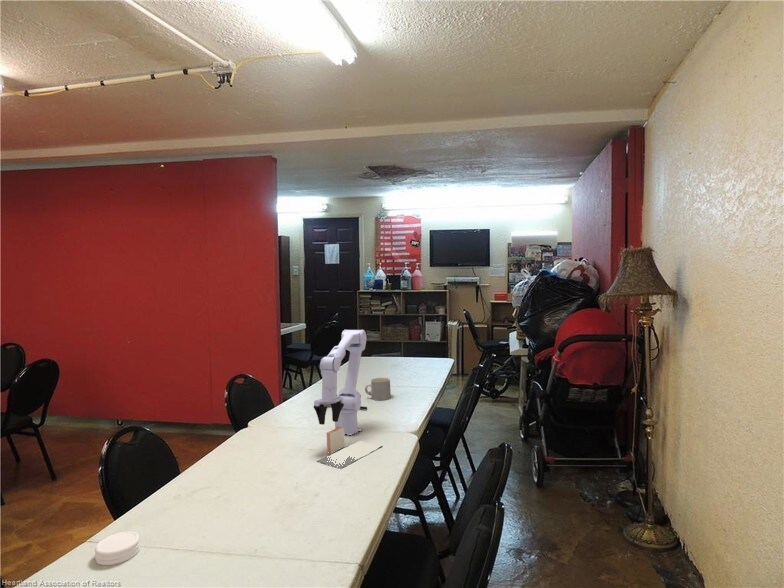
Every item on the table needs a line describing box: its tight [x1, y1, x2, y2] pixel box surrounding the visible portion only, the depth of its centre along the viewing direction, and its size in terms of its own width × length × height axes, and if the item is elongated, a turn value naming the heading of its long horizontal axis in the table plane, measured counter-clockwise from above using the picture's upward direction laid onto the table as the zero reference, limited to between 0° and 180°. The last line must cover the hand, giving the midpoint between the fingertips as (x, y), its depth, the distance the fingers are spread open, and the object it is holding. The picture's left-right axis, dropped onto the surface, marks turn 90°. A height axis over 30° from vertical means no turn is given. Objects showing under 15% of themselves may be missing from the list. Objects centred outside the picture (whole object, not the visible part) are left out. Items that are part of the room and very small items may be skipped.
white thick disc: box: [94, 530, 141, 566], centre depth 123 cm, size 10×10×4 cm
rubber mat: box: [316, 455, 357, 469], centre depth 182 cm, size 12×24×1 cm, turn 144°
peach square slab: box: [326, 427, 345, 454], centre depth 186 cm, size 2×8×8 cm, turn 144°
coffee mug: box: [364, 376, 392, 402], centre depth 256 cm, size 13×10×10 cm
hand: (328, 422), depth 188 cm, fingers open, 7 cm apart
